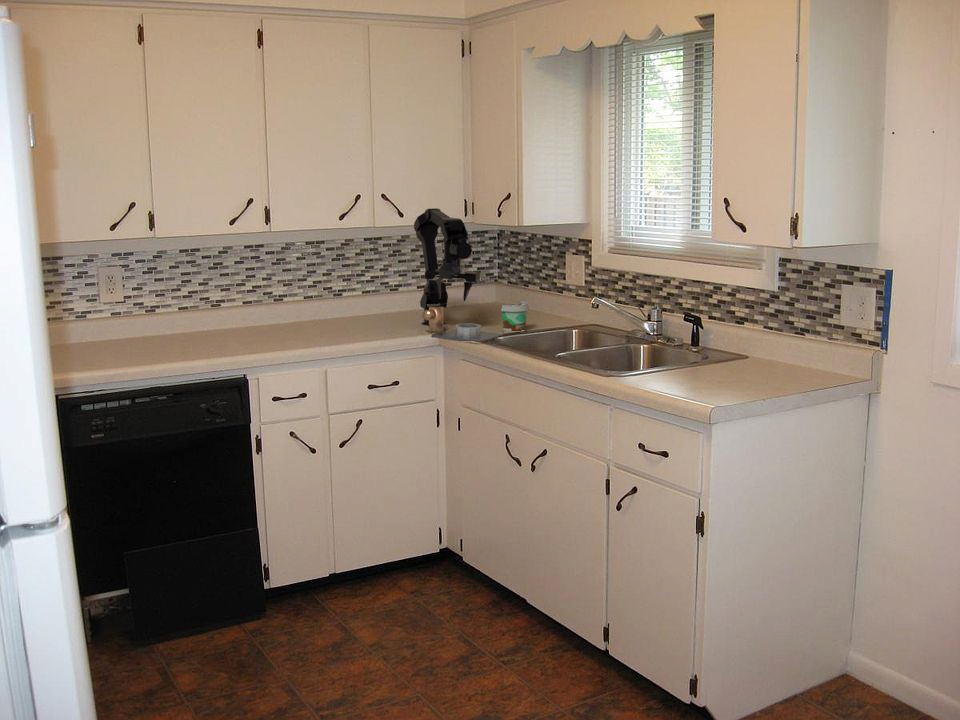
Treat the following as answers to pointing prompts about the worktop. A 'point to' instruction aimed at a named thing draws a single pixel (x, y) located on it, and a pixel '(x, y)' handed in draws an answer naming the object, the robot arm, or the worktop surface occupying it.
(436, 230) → the robot arm
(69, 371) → the worktop surface
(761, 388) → the worktop surface
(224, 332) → the worktop surface
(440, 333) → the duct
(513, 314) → the food container
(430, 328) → the elbow
